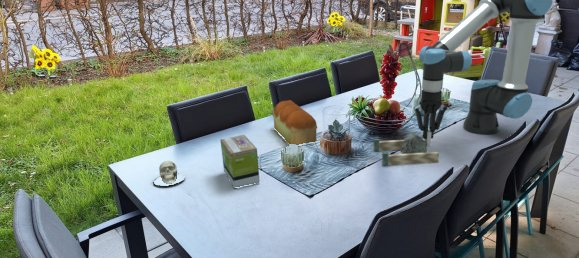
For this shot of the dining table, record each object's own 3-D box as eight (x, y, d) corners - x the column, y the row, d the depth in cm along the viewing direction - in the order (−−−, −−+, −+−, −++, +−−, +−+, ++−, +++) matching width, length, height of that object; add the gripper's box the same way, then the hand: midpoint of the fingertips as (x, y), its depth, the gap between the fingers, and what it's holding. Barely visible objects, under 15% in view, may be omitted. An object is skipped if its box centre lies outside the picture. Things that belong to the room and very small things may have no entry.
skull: (188, 182, 156) (166, 166, 152) (169, 202, 157) (147, 186, 153) (187, 168, 167) (167, 153, 163) (170, 186, 168) (149, 171, 164)
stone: (418, 137, 165) (416, 127, 174) (396, 151, 169) (396, 141, 178) (433, 154, 166) (430, 144, 175) (411, 168, 170) (410, 157, 179)
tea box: (223, 173, 165) (219, 138, 159) (247, 168, 168) (245, 133, 163) (234, 190, 152) (230, 152, 146) (260, 184, 155) (258, 147, 150)
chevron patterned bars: (424, 147, 181) (425, 135, 179) (438, 162, 166) (439, 150, 164) (373, 150, 180) (373, 138, 178) (383, 166, 165) (383, 153, 163)
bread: (317, 143, 189) (317, 112, 184) (291, 148, 185) (290, 116, 180) (297, 126, 211) (296, 97, 206) (273, 130, 207) (271, 101, 202)
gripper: (444, 86, 167) (439, 141, 176) (412, 88, 167) (408, 143, 175) (452, 91, 160) (446, 148, 169) (418, 93, 160) (414, 150, 168)
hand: (427, 145), depth 172 cm, fingers closed
